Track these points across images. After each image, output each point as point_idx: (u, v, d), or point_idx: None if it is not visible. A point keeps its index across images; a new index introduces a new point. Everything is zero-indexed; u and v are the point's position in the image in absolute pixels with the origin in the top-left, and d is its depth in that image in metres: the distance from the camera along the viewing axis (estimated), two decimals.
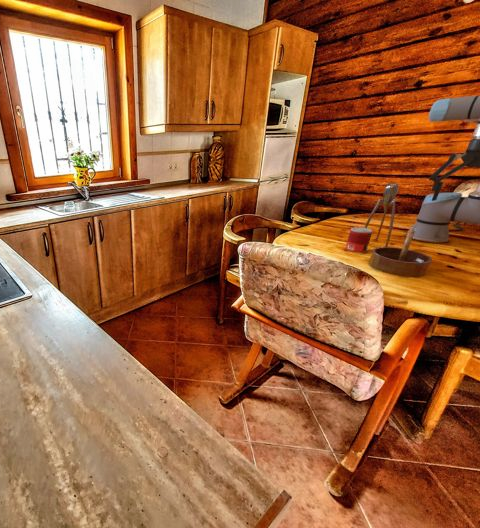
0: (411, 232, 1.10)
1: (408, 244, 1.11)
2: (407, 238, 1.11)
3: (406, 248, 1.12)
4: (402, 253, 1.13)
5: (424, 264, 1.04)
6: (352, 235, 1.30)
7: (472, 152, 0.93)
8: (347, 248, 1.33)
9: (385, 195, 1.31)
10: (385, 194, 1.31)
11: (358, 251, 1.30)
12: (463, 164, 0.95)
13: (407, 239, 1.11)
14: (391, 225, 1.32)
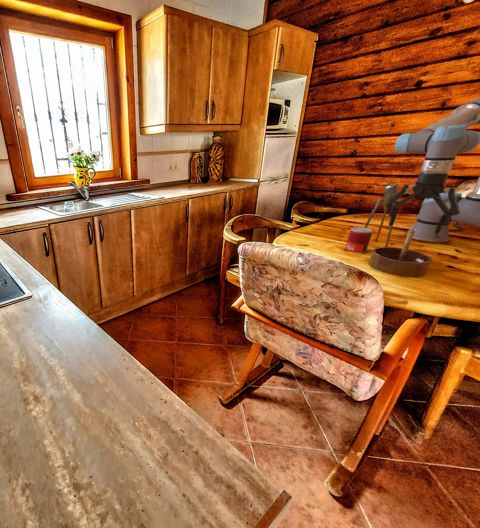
0: (411, 232, 1.10)
1: (408, 244, 1.11)
2: (407, 238, 1.11)
3: (406, 248, 1.12)
4: (402, 253, 1.13)
5: (424, 264, 1.04)
6: (352, 235, 1.30)
7: (421, 184, 1.04)
8: (347, 248, 1.33)
9: (385, 195, 1.31)
10: (385, 194, 1.31)
11: (358, 251, 1.30)
12: (413, 194, 1.05)
13: (407, 239, 1.11)
14: (391, 225, 1.32)
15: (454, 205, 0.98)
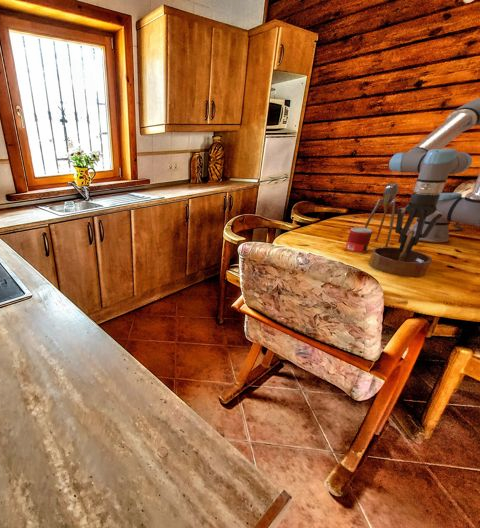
0: (411, 232, 1.10)
1: (408, 244, 1.11)
2: (407, 238, 1.11)
3: (406, 248, 1.12)
4: (402, 253, 1.13)
5: (424, 264, 1.04)
6: (352, 235, 1.30)
7: (413, 204, 1.07)
8: (347, 248, 1.33)
9: (385, 195, 1.31)
10: (385, 194, 1.31)
11: (358, 251, 1.30)
12: (410, 216, 1.08)
13: (407, 239, 1.11)
14: (391, 225, 1.32)
15: (429, 229, 1.05)
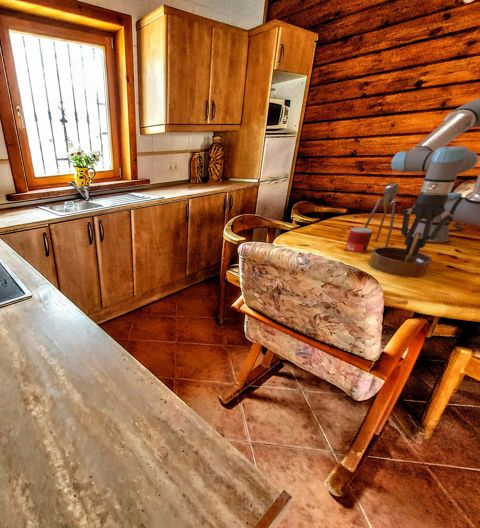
0: (418, 234, 1.05)
1: (414, 246, 1.06)
2: (413, 240, 1.06)
3: (412, 251, 1.07)
4: (408, 256, 1.09)
5: (424, 264, 1.04)
6: (352, 235, 1.30)
7: (420, 205, 1.02)
8: (347, 248, 1.33)
9: (385, 195, 1.31)
10: (385, 194, 1.31)
11: (358, 251, 1.30)
12: (417, 217, 1.03)
13: (413, 241, 1.06)
14: (391, 225, 1.32)
15: (437, 231, 1.00)
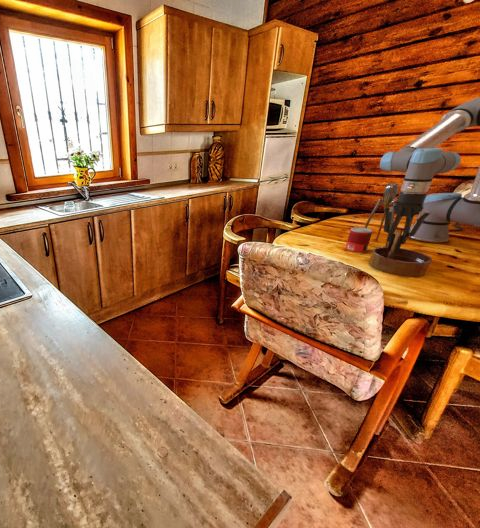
0: (399, 231, 1.10)
1: (396, 243, 1.12)
2: (395, 237, 1.12)
3: (394, 247, 1.13)
4: (390, 252, 1.14)
5: (424, 264, 1.04)
6: (352, 235, 1.30)
7: (401, 203, 1.07)
8: (347, 248, 1.33)
9: (385, 195, 1.31)
10: (385, 194, 1.31)
11: (358, 251, 1.30)
12: (398, 215, 1.08)
13: (395, 238, 1.12)
14: (391, 225, 1.32)
15: (416, 228, 1.06)
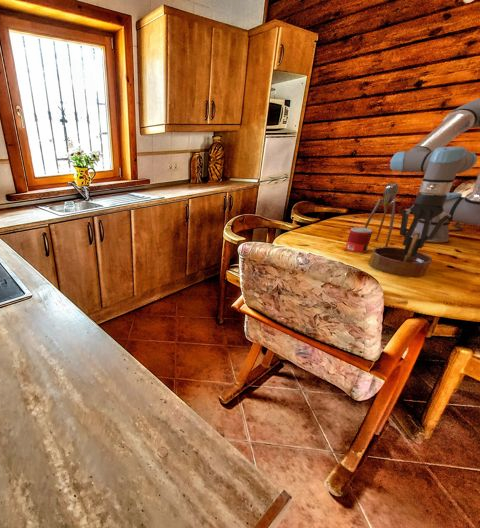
0: (416, 234, 1.05)
1: (413, 247, 1.06)
2: (412, 240, 1.06)
3: (411, 251, 1.07)
4: (407, 256, 1.08)
5: (424, 264, 1.04)
6: (352, 235, 1.30)
7: (419, 205, 1.02)
8: (347, 248, 1.33)
9: (385, 195, 1.31)
10: (385, 194, 1.31)
11: (358, 251, 1.30)
12: (416, 217, 1.03)
13: (412, 241, 1.06)
14: (391, 225, 1.32)
15: (435, 231, 1.00)
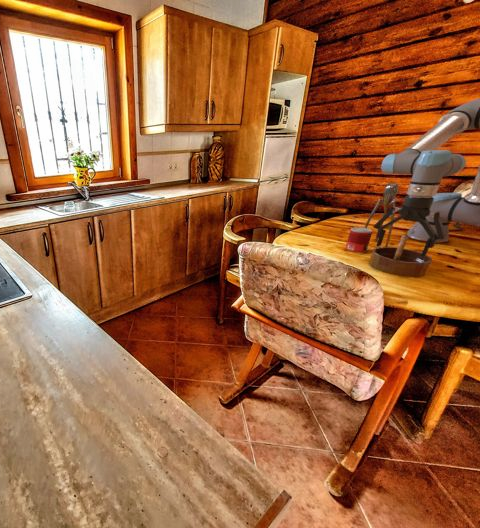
0: (404, 236, 1.06)
1: (401, 248, 1.08)
2: (400, 242, 1.08)
3: (399, 253, 1.09)
4: (395, 257, 1.10)
5: (424, 264, 1.04)
6: (352, 235, 1.30)
7: (407, 207, 1.03)
8: (347, 248, 1.33)
9: (385, 195, 1.31)
10: (385, 194, 1.31)
11: (358, 251, 1.30)
12: (400, 217, 1.05)
13: (400, 243, 1.08)
14: (391, 225, 1.32)
15: (440, 229, 0.98)
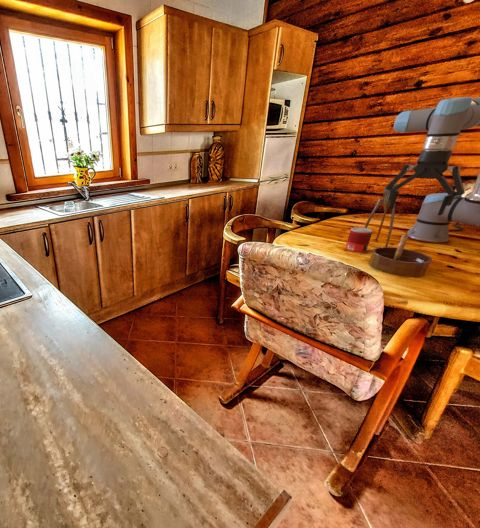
0: (404, 236, 1.06)
1: (401, 248, 1.08)
2: (400, 242, 1.08)
3: (399, 253, 1.09)
4: (395, 257, 1.10)
5: (424, 264, 1.04)
6: (352, 235, 1.30)
7: (422, 163, 0.97)
8: (347, 248, 1.33)
9: (385, 195, 1.31)
10: (385, 194, 1.31)
11: (358, 251, 1.30)
12: (415, 175, 0.99)
13: (400, 243, 1.08)
14: (391, 225, 1.32)
15: (458, 184, 0.91)
